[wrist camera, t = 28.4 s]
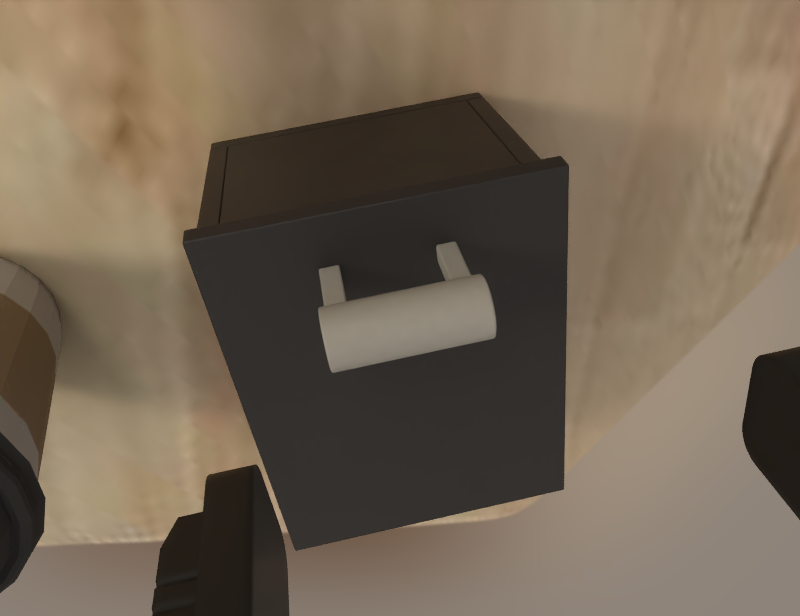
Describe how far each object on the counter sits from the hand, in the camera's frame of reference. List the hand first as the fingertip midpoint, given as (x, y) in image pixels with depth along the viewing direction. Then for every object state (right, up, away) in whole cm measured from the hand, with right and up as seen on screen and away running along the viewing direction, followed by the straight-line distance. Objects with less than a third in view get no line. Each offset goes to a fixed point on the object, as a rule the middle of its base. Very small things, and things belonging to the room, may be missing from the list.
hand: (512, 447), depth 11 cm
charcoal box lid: (-2, 0, +17) cm, 17 cm away
